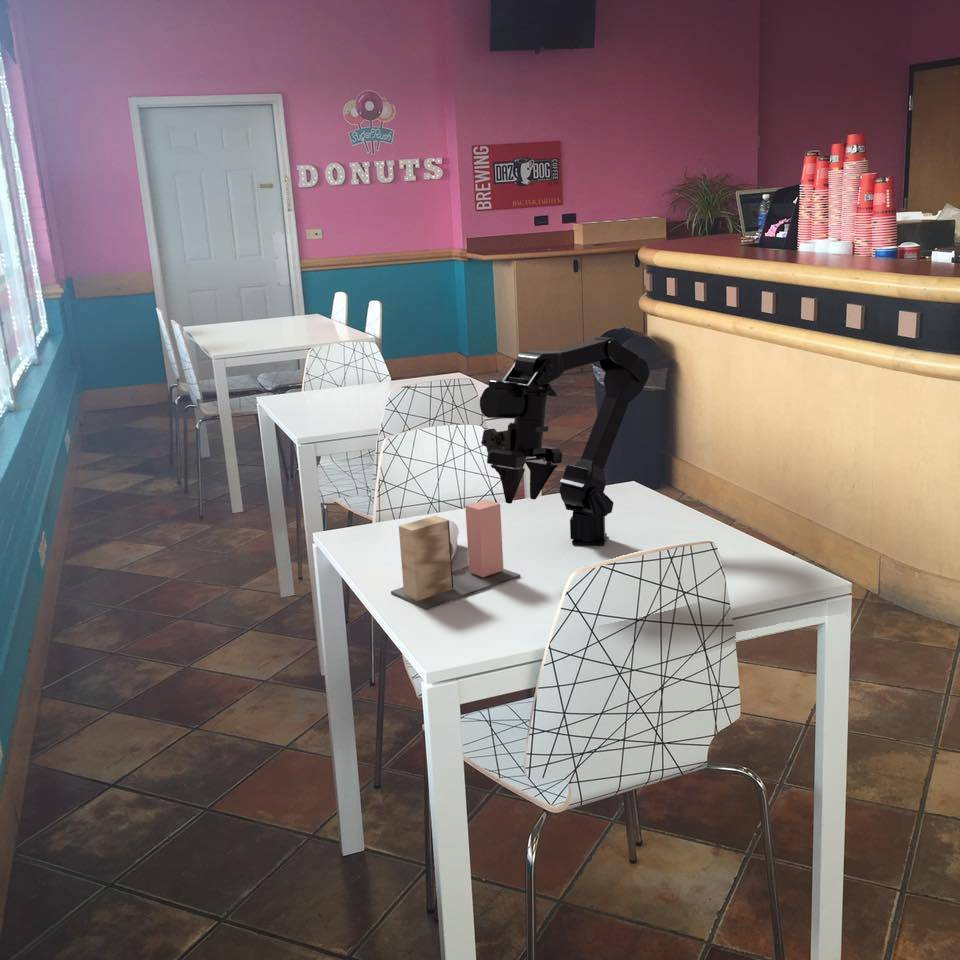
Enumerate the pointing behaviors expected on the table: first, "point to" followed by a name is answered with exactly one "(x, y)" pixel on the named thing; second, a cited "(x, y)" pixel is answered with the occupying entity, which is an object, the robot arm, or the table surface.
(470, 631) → the table surface
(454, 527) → the drinking glass
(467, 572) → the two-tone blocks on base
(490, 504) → the stub
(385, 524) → the table surface
